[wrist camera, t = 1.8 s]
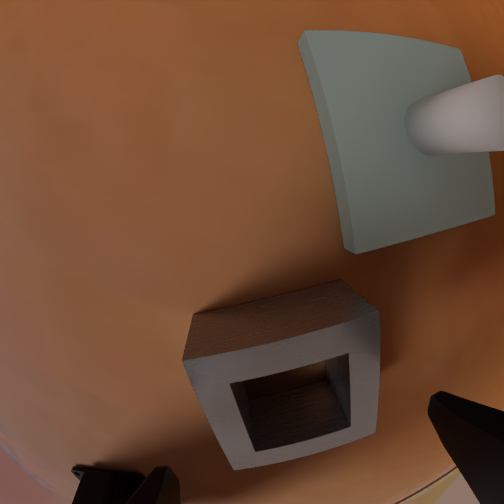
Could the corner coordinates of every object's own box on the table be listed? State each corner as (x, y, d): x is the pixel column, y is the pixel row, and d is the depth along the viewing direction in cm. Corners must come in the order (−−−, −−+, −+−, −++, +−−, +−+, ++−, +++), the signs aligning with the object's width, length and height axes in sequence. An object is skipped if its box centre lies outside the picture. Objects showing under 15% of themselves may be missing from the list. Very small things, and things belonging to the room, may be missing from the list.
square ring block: (349, 389, 13) (375, 433, 10) (231, 419, 13) (233, 470, 10) (341, 278, 12) (379, 311, 8) (193, 314, 12) (181, 360, 8)
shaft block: (480, 212, 12) (564, 230, 6) (344, 248, 12) (434, 299, 6) (447, 55, 10) (520, 23, 4) (297, 43, 10) (347, -45, 4)
